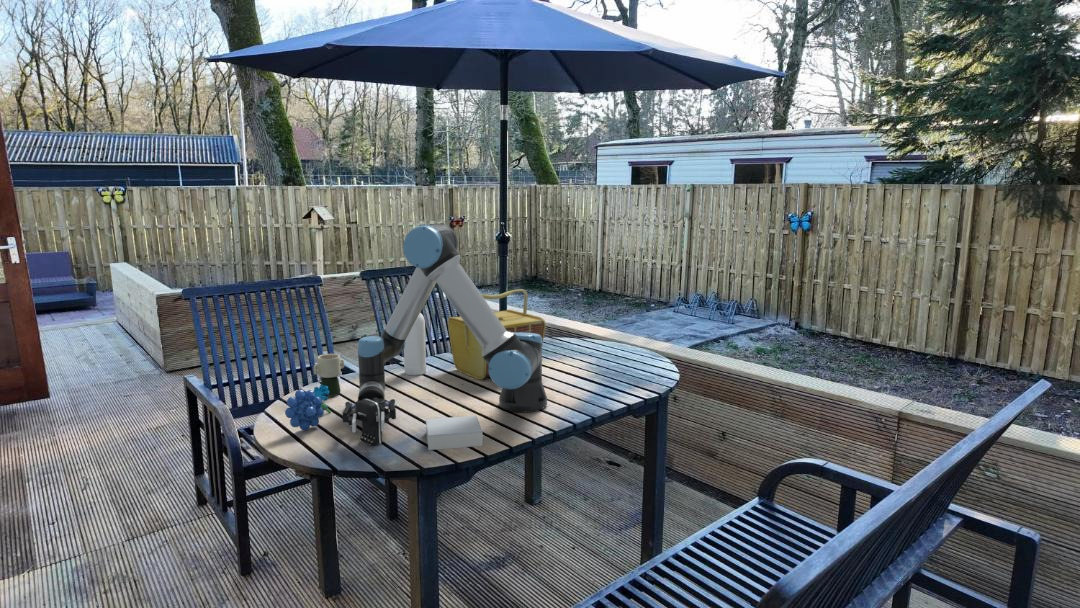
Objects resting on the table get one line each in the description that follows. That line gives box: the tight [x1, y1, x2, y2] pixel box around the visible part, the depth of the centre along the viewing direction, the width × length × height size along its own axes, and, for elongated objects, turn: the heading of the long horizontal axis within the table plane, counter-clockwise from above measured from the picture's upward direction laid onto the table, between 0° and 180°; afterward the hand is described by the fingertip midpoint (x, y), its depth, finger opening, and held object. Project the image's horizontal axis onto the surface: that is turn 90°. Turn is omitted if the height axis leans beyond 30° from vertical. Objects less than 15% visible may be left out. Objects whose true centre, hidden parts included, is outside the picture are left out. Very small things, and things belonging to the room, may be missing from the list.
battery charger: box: [356, 399, 383, 447], centre depth 164 cm, size 7×4×11 cm, turn 50°
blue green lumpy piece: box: [313, 384, 332, 414], centre depth 189 cm, size 11×6×10 cm
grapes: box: [284, 389, 325, 431], centre depth 172 cm, size 12×7×12 cm, turn 144°
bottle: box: [403, 312, 427, 376], centre depth 228 cm, size 8×8×30 cm
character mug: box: [313, 353, 345, 397], centre depth 203 cm, size 11×7×13 cm, turn 140°
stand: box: [425, 415, 483, 451], centre depth 168 cm, size 14×12×4 cm
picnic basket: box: [447, 288, 547, 381], centre depth 233 cm, size 29×26×30 cm
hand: (368, 426), depth 159 cm, fingers closed on battery charger, 6 cm apart
